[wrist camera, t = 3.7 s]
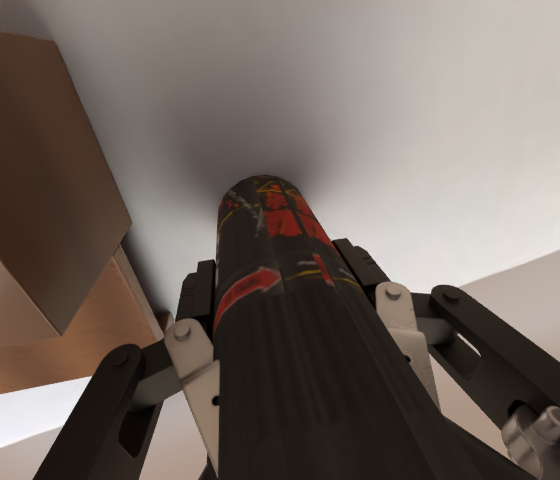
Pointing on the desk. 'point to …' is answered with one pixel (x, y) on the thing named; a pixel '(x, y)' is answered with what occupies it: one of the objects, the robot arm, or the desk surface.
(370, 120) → the desk surface
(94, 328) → the step shelf
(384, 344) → the deodorant
